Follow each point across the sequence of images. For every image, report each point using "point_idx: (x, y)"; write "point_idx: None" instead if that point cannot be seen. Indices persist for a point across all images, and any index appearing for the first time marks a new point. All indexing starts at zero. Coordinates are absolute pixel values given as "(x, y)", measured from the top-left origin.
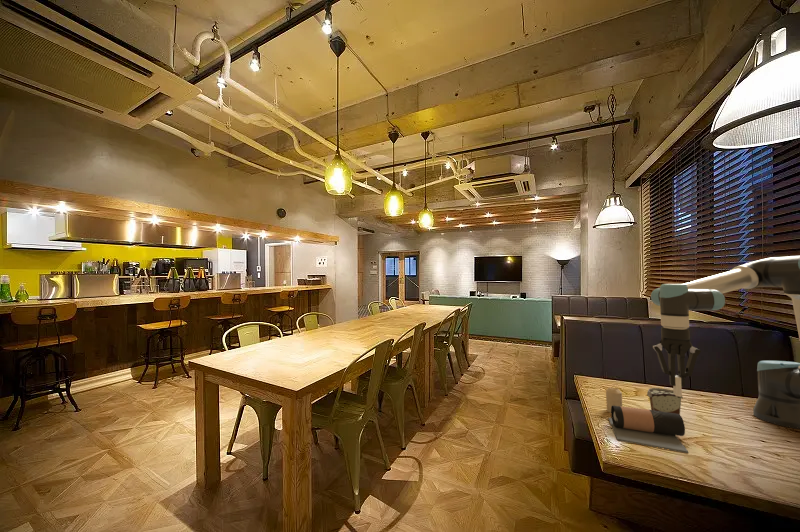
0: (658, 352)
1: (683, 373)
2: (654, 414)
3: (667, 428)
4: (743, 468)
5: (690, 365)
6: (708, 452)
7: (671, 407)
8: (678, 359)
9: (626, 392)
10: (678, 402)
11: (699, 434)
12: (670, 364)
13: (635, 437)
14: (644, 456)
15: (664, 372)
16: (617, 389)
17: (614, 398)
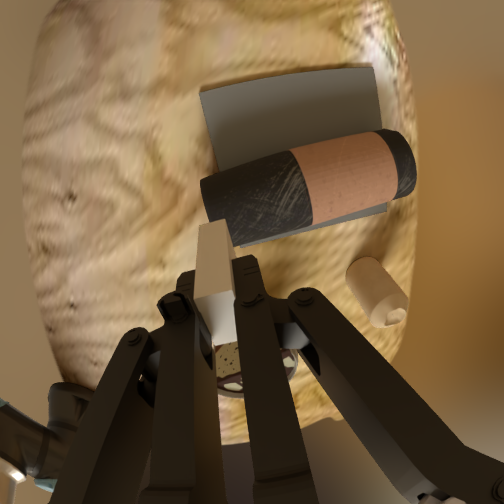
0: (463, 456)
1: (173, 334)
2: (295, 179)
3: (250, 162)
4: (88, 102)
5: (109, 413)
6: (151, 141)
7: (233, 345)
8: (213, 468)
9: (313, 395)
10: (217, 365)
11: (170, 258)
12: (288, 382)
13: (331, 101)
14: (307, 5)
15: (320, 296)
16: (386, 316)
17: (386, 283)
